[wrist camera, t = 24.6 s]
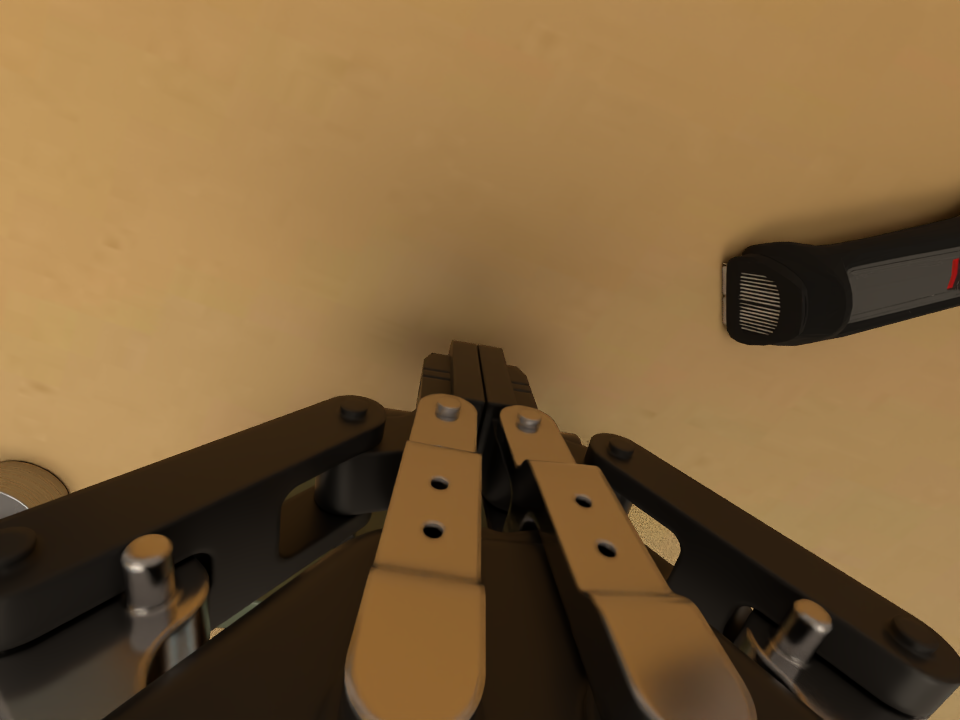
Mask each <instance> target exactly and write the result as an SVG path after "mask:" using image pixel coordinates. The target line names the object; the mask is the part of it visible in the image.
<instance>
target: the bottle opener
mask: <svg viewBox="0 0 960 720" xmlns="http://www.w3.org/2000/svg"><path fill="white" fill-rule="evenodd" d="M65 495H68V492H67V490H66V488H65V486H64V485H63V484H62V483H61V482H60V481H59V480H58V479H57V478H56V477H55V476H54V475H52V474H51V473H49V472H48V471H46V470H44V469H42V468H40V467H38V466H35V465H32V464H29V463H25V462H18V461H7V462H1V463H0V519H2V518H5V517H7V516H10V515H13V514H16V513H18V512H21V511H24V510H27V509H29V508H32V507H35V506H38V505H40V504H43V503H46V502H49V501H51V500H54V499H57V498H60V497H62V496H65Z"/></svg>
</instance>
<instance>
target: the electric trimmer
mask: <svg viewBox="0 0 960 720" xmlns="http://www.w3.org/2000/svg"><path fill="white" fill-rule="evenodd" d="M723 264H725V265H727V266H724V267H723V270H724V271H723V274H724V275H723V278H724V279H723V280H722V281H723V282H724V284H722V285H723V286H722V287H724V288H722V289H724V290H722V291H724V292H722V293H723V295H726V297H723V301H724V303H722V304H723V305H722V306H724V307H722V308H724V309H723V310H724V311H723V312H724V313H723V317H724V318H722V319H724V320H723V321H724V322H723V323H724V324H725V325H726V327H727V331H728V333H729V335H730V337H731V338H733V339H734V340H736V341H737V342H740V343H743V344H747V345H763V346H764V345H777V346H797V345H802V344H808V343H813V342H818V341H823V340H828V339H834V338H839V337H844V336H848V335H852V334H855V333H859V332H863V331H867V330H870V329H874V328H878V327H882V326H885V325H889V324H893V323H897V322H900V321H904V320H908V319H911V318H915V317H919V316H923V315H926V314H930V313H934V312H938V311H941V310H945V309H949V308H953V307H956V306H960V216H958V217H954V218H950V219H947V220H943V221H939V222H934V223H930V224H926V225H921V226H917V227H913V228H908V229H904V230H900V231H895V232H891V233H887V234H882V235H878V236H874V237H869V238H864V239H859V240H853V241H848V242H842V243H837V244H831V245H820V246H814V245H807V244H800V243H794V242H774V243H765V244H759V245H753V246H750V247H748V248H746V249H745V250H744V251H743V253H742V256H738V257H734V258H732V259H730V260H729V261H728V263H727V264H726V263H723Z"/></svg>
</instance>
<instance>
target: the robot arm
mask: <svg viewBox="0 0 960 720" xmlns="http://www.w3.org/2000/svg"><path fill="white" fill-rule="evenodd" d="M314 477H316V479H315V485H314V486H312V487H310V488H308V489H306V490H304V491H302V492H300V493H299V494H297V495H295V496H293V497H291V498H289V499H287V500H285V498H286V497H287V495H288V494H289V493H290V492H291V491H292V490H293V489H294V488H296V487H297V486H299V485H301V484H303V483H304V482H306V481H308V480H310V479H312V478H314ZM284 500H285V501H284ZM632 504H634V505H636V506H637V507H638V508H640V509H641V510H643V511H644V512H645V513H647V514H648V515H650V516H651V517H652V518H654V519H655V520H657V521H658V522H659V523H661V524H662V525H663V526H665V527H666V528H668V529H669V530H670V531H672V532H673V533H674V534H675V536H676V537H677V539H678V541H679V543H680V547H681V551H680V555H679V557H678V559H677V561H676V563H675V565H674V566H673V565H671V564H670V563H668V562H667V561H666V560H665V559H663V558H662V557H661V556H659V555H658V554H657V553H655V552H654V551H653V550H651V549H650V548H649V547H648V546H646V545H645V544H644V543H643V542H642V540H641V538H640V536H639V535H638V533H637V531H636V529H635V528H634V526H633V524H632V523H631V521H630V519H629V517H628V516H627V515H628V513H629V511H630V508H631V506H632ZM386 510H388V512H387V515H386V519H385V523H384V527H383V529H378V530H374V531H371V532H367V533H364V534H362V535H359V536H357V537H354V538H352V539H350V540H348V541H346V542H344V543H343V544H341V545H339V546H337V545H338V544H339V543H341V542H342V541H344V540H345V539H347V538H348V537H350V536H351V535H353V534H354V533H356V532H357V531H359V530H360V529H361V528H363V527H364V526H365V525H366V524H367V523H368V522H369V520H370V519H371V515H372V512H379V511H386ZM335 546H337V547H336V548H334V547H335ZM332 548H334V549H333V550H332V551H330V552H329V553H327V554H326V555H325V556H323V557H322V558H321V559H319V560H318V561H317V562H315V563H314V564H313V565H311V566H310V567H308V568H307V569H306V570H304V571H303V572H302V573H300V574H299V575H298V576H296V577H295V578H293V579H292V580H291V581H289V582H288V583H287V584H285V585H284V586H283V587H281V588H280V589H278V590H277V591H276V592H274V593H273V594H272V595H270V596H269V597H268V598H266V599H265V600H263V601H262V602H261V603H259V604H258V605H257V606H255V607H254V608H253V609H251V610H250V611H248V612H247V613H246V614H244V615H243V616H242V617H240V618H239V619H238V620H236V621H235V622H233V623H232V624H231V625H229V626H228V627H227V628H225V629H224V630H223V631H221V632H220V633H218V634H217V635H216V636H214V637H213V638H212V639H210V640H209V638H210V631H212V630H213V629H215V628H216V627H218V626H219V625H221V624H222V623H224V622H225V621H227V620H228V619H229V618H231V617H232V616H234V615H235V614H237V613H238V612H240V611H241V610H243V609H244V608H246V607H247V606H249V605H250V604H251V603H253V602H254V601H256V600H257V599H259V598H260V597H262V596H263V595H265V594H266V593H268V592H269V591H271V590H272V589H273V588H275V587H276V586H278V585H279V584H281V583H282V582H284V581H285V580H287V579H288V578H290V577H291V576H293V575H294V574H295V573H297V572H298V571H300V570H301V569H303V568H304V567H306V566H307V565H309V564H310V563H312V562H313V561H315V560H316V559H317V558H319V557H320V556H322V555H323V554H325V553H326V552H328V551H329V550H331V549H332ZM750 607H752V608H754V609H753V611H752V609H751V608H750ZM959 686H960V657H959V655H958V654H957V653H956V652H955V650H954V649H953V648H952V647H951V646H950V645H949V644H948V643H947V642H946V641H945V640H944V639H943V638H942V637H941V636H940V635H939V634H938V633H936V632H935V631H934V630H933V629H932V628H930V627H929V626H927V625H926V624H925V623H923V622H922V621H920V620H919V619H917V618H916V617H914V616H913V615H911V614H909V613H908V612H906V611H905V610H903V609H901V608H900V607H898V606H897V605H895V604H893V603H892V602H890V601H889V600H887V599H885V598H884V597H882V596H881V595H879V594H877V593H876V592H874V591H872V590H871V589H869V588H868V587H866V586H864V585H863V584H861V583H860V582H858V581H856V580H855V579H853V578H852V577H850V576H848V575H847V574H845V573H844V572H842V571H840V570H839V569H837V568H835V567H834V566H832V565H831V564H829V563H827V562H826V561H824V560H823V559H821V558H819V557H818V556H816V555H815V554H813V553H811V552H810V551H808V550H807V549H805V548H803V547H802V546H800V545H799V544H797V543H795V542H794V541H792V540H790V539H789V538H787V537H786V536H784V535H782V534H781V533H779V532H778V531H776V530H774V529H773V528H771V527H770V526H768V525H766V524H765V523H763V522H762V521H760V520H758V519H757V518H755V517H753V516H752V515H750V514H749V513H747V512H745V511H744V510H742V509H741V508H739V507H737V506H736V505H734V504H733V503H731V502H729V501H728V500H726V499H725V498H723V497H721V496H720V495H718V494H717V493H715V492H713V491H712V490H710V489H708V488H707V487H705V486H704V485H702V484H700V483H699V482H697V481H696V480H694V479H692V478H691V477H689V476H688V475H686V474H684V473H683V472H681V471H680V470H678V469H676V468H675V467H673V466H672V465H670V464H668V463H667V462H665V461H663V460H662V459H660V458H659V457H657V456H655V455H654V454H652V453H651V452H649V451H647V450H646V449H644V448H643V447H641V446H639V445H638V444H636V443H634V442H633V441H631V440H629V439H627V438H624V437H622V436H618V435H615V434H609V433H600V434H596V435H594V436H593V437H592V438H591V440H590V443H589V446H588V447H586V446H583V445H580V444H577V443H574V442H571V441H568V440H565V439H563V437H562V435H561V433H560V431H559V429H558V427H557V425H556V423H555V422H554V420H553V419H552V418H551V417H550V416H548V415H547V414H545V413H544V412H542V411H540V410H538V408H537V405H536V403H535V400H534V397H533V394H532V391H531V388H530V386H529V382H528V379H527V377H526V375H525V374H524V373H523V372H522V371H521V370H520V369H519V368H518V367H516V366H510V365H506V361H505V357H504V354H503V350H502V348H497V347H491V346H485V345H479V344H478V345H476V344H473V343H467V342H461V341H455V340H452V341H451V345H450V349H449V354H448V355H442V354H436V353H431V354H430V355H429V356H428V357H426V358H425V359H424V364H423V370H422V375H421V381H420V387H419V392H418V398H417V404H416V410H414V411H413V412H410V413H408V414H405V415H400V416H388V417H386V410H385V409H384V407H383V406H382V405H381V404H379V403H378V402H376V401H374V400H372V399H369V398H366V397H361V396H353V395H346V396H338V397H334V398H331V399H328V400H326V401H323V402H320V403H317V404H315V405H312V406H309V407H306V408H304V409H301V410H298V411H295V412H293V413H290V414H287V415H285V416H282V417H279V418H276V419H274V420H271V421H268V422H265V423H263V424H260V425H257V426H254V427H252V428H249V429H246V430H243V431H241V432H238V433H235V434H232V435H230V436H227V437H224V438H221V439H219V440H216V441H213V442H210V443H208V444H205V445H202V446H199V447H197V448H194V449H191V450H189V451H186V452H183V453H180V454H178V455H175V456H172V457H169V458H167V459H164V460H161V461H158V462H156V463H153V464H150V465H147V466H145V467H142V468H139V469H136V470H134V471H131V472H128V473H125V474H123V475H120V476H117V477H114V478H112V479H109V480H106V481H103V482H101V483H98V484H95V485H92V486H90V487H87V488H84V489H82V490H79V491H76V492H73V493H71V494H68V495H65V496H62V497H60V498H57V499H54V500H51V501H49V502H46V503H43V504H40V505H38V506H35V507H32V508H29V509H27V510H24V511H21V512H18V513H16V514H13V515H10V516H7V517H5V518H2V519H0V720H927V719H928V718H929V717H930V716H931V715H932V714H933V713H934V712H935V711H936V710H937V709H938V708H939V707H940V706H941V705H942V704H943V702H944V701H945V700H946V699H947V698H948V697H949V696H950V695H951V694H952V693H953V692H954V691H955V690H956V689H957V688H958V687H959Z"/></svg>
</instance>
